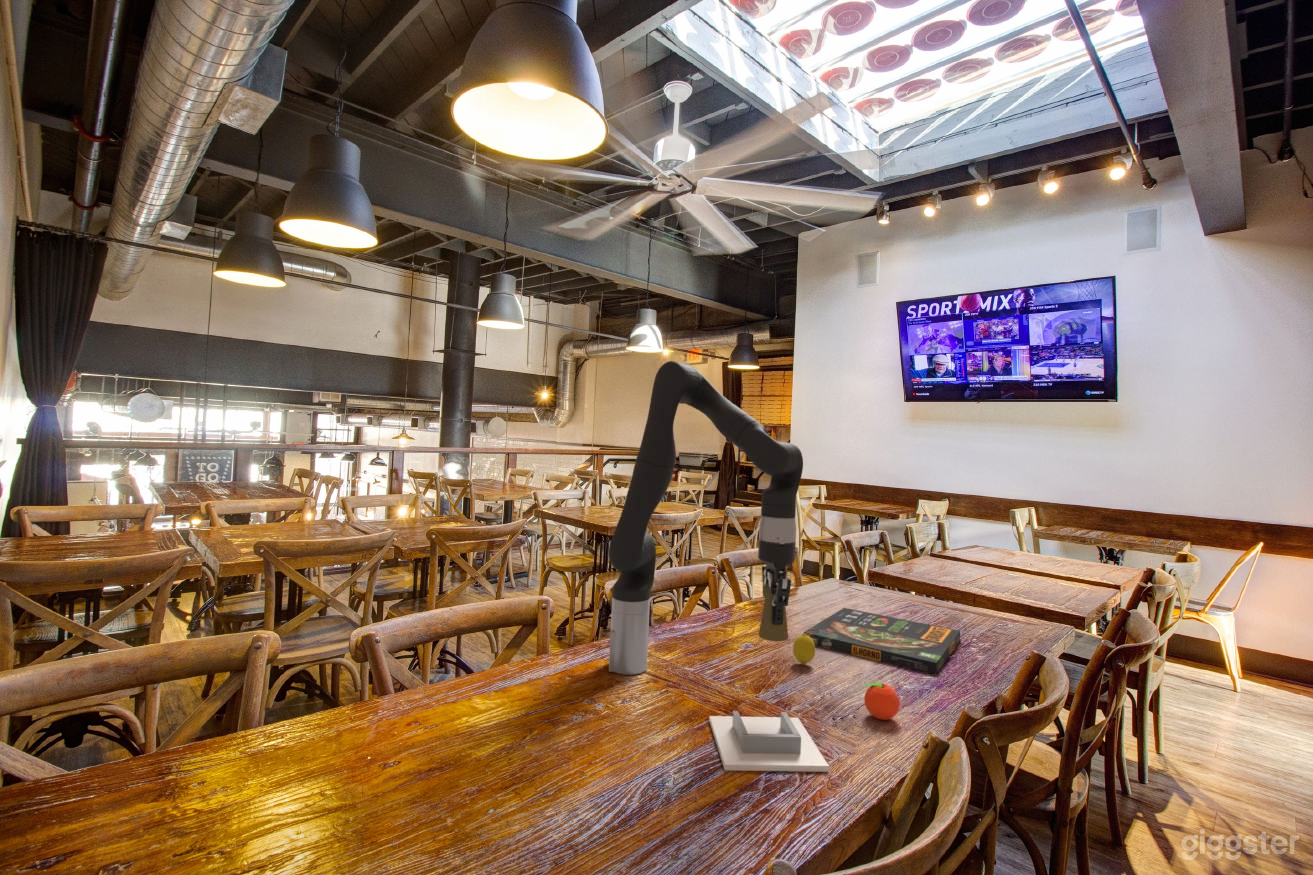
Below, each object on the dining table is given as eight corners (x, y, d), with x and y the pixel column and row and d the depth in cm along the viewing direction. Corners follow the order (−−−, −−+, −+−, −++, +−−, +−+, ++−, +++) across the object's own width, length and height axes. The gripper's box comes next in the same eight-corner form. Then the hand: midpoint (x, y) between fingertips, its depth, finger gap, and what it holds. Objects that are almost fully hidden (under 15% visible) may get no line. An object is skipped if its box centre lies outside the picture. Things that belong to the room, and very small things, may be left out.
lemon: (810, 670, 150) (812, 638, 150) (789, 665, 152) (790, 633, 153) (817, 664, 154) (818, 633, 154) (796, 659, 157) (797, 628, 157)
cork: (790, 634, 126) (793, 582, 126) (785, 643, 120) (787, 588, 120) (762, 630, 128) (764, 578, 128) (755, 638, 123) (757, 584, 123)
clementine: (857, 720, 123) (858, 685, 123) (859, 706, 130) (860, 674, 130) (899, 728, 120) (900, 693, 120) (899, 714, 127) (900, 680, 127)
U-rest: (724, 770, 102) (725, 746, 102) (709, 720, 120) (710, 700, 120) (828, 771, 103) (829, 748, 103) (797, 722, 121) (798, 702, 121)
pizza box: (843, 618, 200) (844, 607, 200) (959, 642, 179) (960, 630, 179) (803, 644, 171) (803, 631, 171) (935, 676, 151) (936, 662, 151)
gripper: (751, 532, 131) (748, 611, 131) (768, 543, 117) (765, 631, 117) (784, 533, 132) (781, 611, 131) (806, 544, 117) (802, 632, 117)
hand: (773, 620), depth 124 cm, fingers closed on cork, 4 cm apart
